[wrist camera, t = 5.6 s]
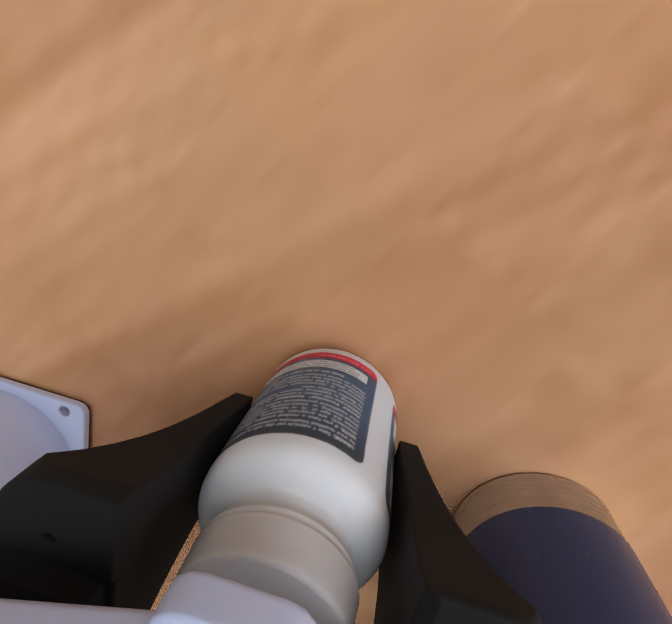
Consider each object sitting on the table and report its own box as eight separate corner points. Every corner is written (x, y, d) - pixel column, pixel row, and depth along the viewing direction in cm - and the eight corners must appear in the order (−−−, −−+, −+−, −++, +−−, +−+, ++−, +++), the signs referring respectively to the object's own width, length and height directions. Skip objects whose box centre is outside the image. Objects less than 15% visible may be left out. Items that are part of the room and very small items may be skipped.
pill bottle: (243, 378, 17) (88, 567, 9) (353, 322, 16) (287, 488, 8) (311, 479, 18) (226, 733, 10) (421, 435, 17) (428, 692, 9)
